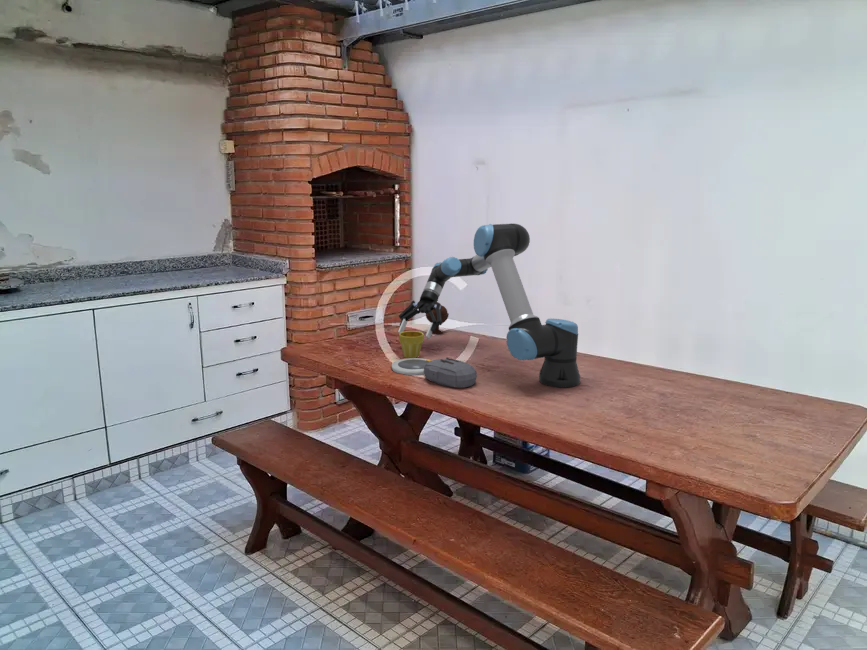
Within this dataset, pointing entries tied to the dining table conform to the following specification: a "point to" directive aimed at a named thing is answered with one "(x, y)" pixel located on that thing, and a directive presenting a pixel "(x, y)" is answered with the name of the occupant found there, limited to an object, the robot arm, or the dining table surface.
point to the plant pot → (411, 343)
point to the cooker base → (410, 366)
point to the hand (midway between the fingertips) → (413, 335)
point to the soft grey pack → (450, 373)
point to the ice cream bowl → (443, 317)
